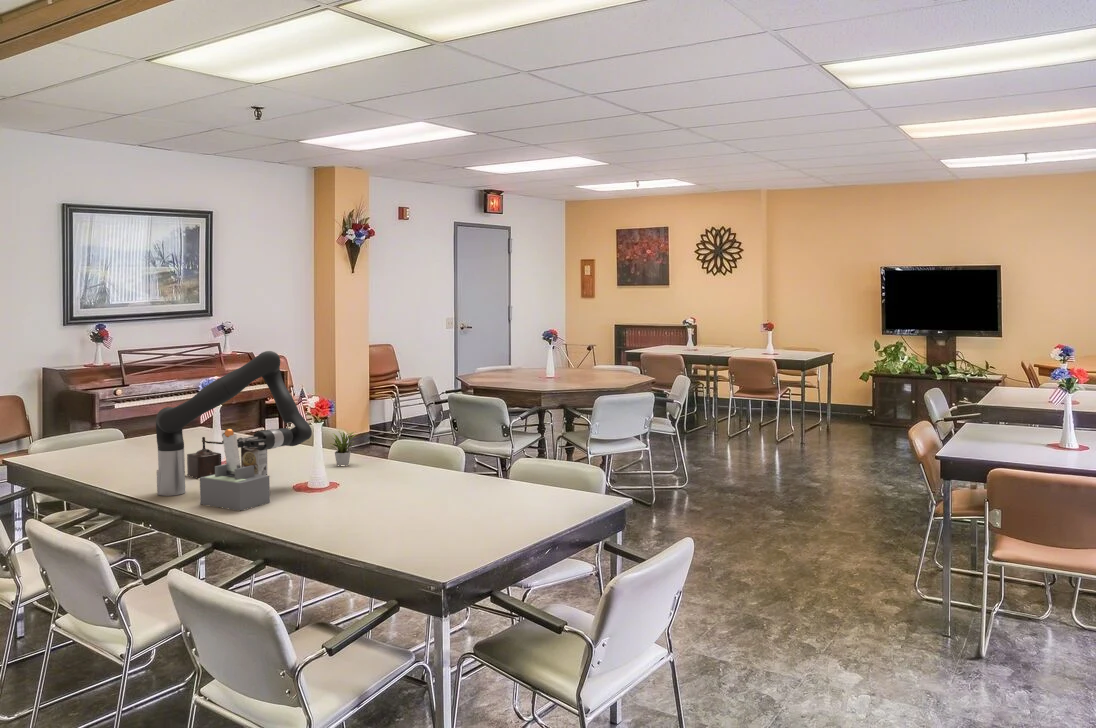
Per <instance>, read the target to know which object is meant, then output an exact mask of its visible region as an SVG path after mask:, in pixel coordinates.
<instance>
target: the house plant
mask: <svg viewBox="0 0 1096 728" xmlns="http://www.w3.org/2000/svg"><path fill="white" fill-rule="evenodd" d="M338 433H339V435H340V436H341V440H340V438H339V436H337V435H336V434H335V433H332V434H333V436H334V437H335V439H334V437H332V436H331V435H330V436H329V437H331V438H332V439H333V440H334V443H329V444H330V445H332V446H333V449H336V451H334V456H335V462H336V466H337V465H339V466H338V467H340V466H341V465H348V464H349V465H350V460H351V459H350V458H351V451H350V450H348V449H349V448H350V447H351V448H354V447H355V444H353V443H354V442H355V440H354V441H351V440H352V439H353V438H354V437H355V436H357V435H358V433H356V434H354V433H355V431H353V432H351V433H347V434H346V433H345V432H344V431H342V432H341V431H338ZM329 448H331V446H329ZM349 465H348V466H349Z"/></svg>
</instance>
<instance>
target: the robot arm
mask: <svg viewBox="0 0 1096 728" xmlns="http://www.w3.org/2000/svg"><path fill="white" fill-rule="evenodd" d="M280 368H281V357H280V356H279V354H278V353H277V352H275V351H272V350H266V351H262V352H261V353H259V354H258V355H257V356H255V357H254V358H252V359H251V360H250V361H249V362H246V363H245V364H243V365H242V366H241V367H239V368H237V369H234V370H232V371H230V372H228V373H227V374H225V375H223V376H221V377H219V378H217V379H215V380H213V381H212V382H210V383H209V384H207V385H205V386H204V387H203V388H201V390H199V391H198V392H197V393H195V394H194V395H193V397H191V398H190V399H188V400H187V401H184V402H183V403H181V404H179V405H177V406H174V407H172V406H167V407H162V409H160V410H159V411H158V412H157V414H156V417H155V431H156V432H155V433H156V443H157V467H158V469H157V470H156V492H157V493H156V494H157V496H164V497H166V496H167V497H168V496H169V497H170V496H180V495H182V494H185V493H186V466H185V441H184V436H183V435H184V434H183V428H184V427H186V426H187V425H189V424H190V423H191V422H192V421H194V420H195V419H197V418H199V416H202V415H204V414H205V413H208V412H209V411H212V410H213V409H215V408H217V407H219V406H221V405H223V404H224V403H227V402H228V401H230V400H232V398H235V397H236V396H237V395H239V394H240V393H241V392H242V391H243V390H245V388H247V387H248V386H249V385H250V384H252V382H255V381H256V380H258V379H259V378H262V380H264V382H265V383H266V385H267V387H268V389H269V391H270V394H271V395H272V397H273V398H272V399H273V401H274V402H275V405H276V408H277V410H278V413H279V415H280V417H281V420H282V421H283V422H284V424H292V425H293V426H294V427H292V428H287V427H283V428H281V427H280V428H271V429H264V430H263V429H262V430H258V431H257V432H255V433H254V434H253V435H252V436H251V435H250V436H248V438H247V437H237V443H238V449H239V448H240V449H241V447H243V448H245V447H247V448H253V447H255V448H256V449H257V450H259V451H262V450H267V451H268V450H273V449H276V448H281V447H285V446H286V447H296V446H299V445H301V444H302V443H304V442H306V441H308V440H309V439H311V438H312V434H313V431H312V428H311V425H310V423H308V422H307V421H306V419H305V418H304V417H303V416H302V414H301V413H300V411H299V409H298V407H297V405H296V402H295V400H294V397H293V396H292V395H291V393H290V391H289V390H288V388H287V387H286V384H285V381H284V380H283V376H282V372H281V369H280Z"/></svg>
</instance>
